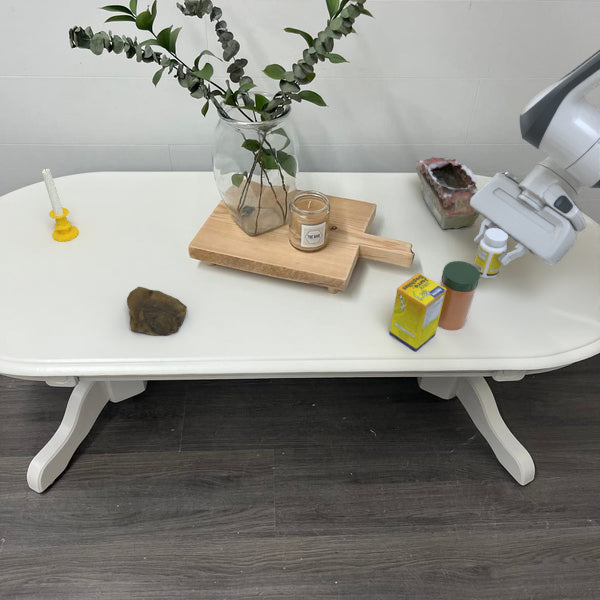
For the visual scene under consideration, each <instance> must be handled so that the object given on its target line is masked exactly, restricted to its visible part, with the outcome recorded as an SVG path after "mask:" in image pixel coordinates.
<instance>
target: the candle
mask: <svg viewBox="0 0 600 600" xmlns="http://www.w3.org/2000/svg"><path fill="white" fill-rule="evenodd" d="M41 173H42V177H43V182H44V185H45V187H46V191H47V193H48V198H49V200H50V205H51V207H52V209H51V211H49V213H48V216H49V217H50V218H51V219H55V225H54V228H55V229H54V230H53V231H52V233H51V237H52V238H53V240H54V241H56V242H60V243H62V242H63V243H65V242H70V241H72V240H74V239H76V238H77V237H78V235H79V234H80V233H79V228H78V227H76V226H75V225H72V222H71V221H70V220H68V218H67V216H68V215H69V214H70V210H69V209H68V208H67V207H62V204H61V200H60V197H59V193H58V190H57V188H56V184H55V180H54V178H53V174H52V172H51V169H50V168H44V169H43V170H42V172H41Z"/></svg>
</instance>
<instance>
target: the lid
mask: <svg viewBox="0 0 600 600" xmlns="http://www.w3.org/2000/svg"><path fill="white" fill-rule="evenodd" d="M441 278H442V280H443V282H444V284H445V285H447V286H448V287H449V288H451V289H454V290H457V291H470V290H473V289H474V288H476V287H478V286H479V281H480V278H481V276H480V273H479V271H478V269H477V268H476V267H475V266H474V264H471V263H469V262H466V261H462V260H461V261H460V260H453V261H450V262H448V263H446V264H445V266H444V267H443V271H442V274H441ZM476 289H477V288H476Z"/></svg>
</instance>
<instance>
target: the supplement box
mask: <svg viewBox="0 0 600 600" xmlns="http://www.w3.org/2000/svg"><path fill="white" fill-rule="evenodd" d="M445 294H446V288H444V287H442V286H441V285H440V283H437V282H436V281H434V280H432V279H430V278H429V277H427V276H425V275H424V274H422V273H420V272H417V273H416V274H415V275H413V276H412V277H410V278H409V279H408V280H406V281H405V282H404V283H402V284H401V285H399V286H398V287H397V288H396V294H395V300H394V306H393V311H392V317H391V321H390V328H389V335H390V336H391V337H392V338H394V339H396V340H397V341H398V342H400V343H401V344H403V345H405V346H406V347H407V348H409V349H410V350H412V351H413V352H417V351H418V350H420V349H421V348H422V347H423V346H424V345H426V344H427V343H429V341H431V339H432V338H434V337H435V336H436V333H437V329H438V321H439V317H440V314H441V310H442V306H443V302H444V298H445Z"/></svg>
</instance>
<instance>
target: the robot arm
mask: <svg viewBox="0 0 600 600" xmlns="http://www.w3.org/2000/svg"><path fill="white" fill-rule="evenodd" d="M599 86H600V49H598V50H597V51H596V52H595V53H593V54H592V55H590V56H589V57H588V58H587V59H585V60H584V61H583V62H581V63H580V64H579V65H577V66H576V67H575V68H574V69H573V70H571V71H570V72H568V73H567V74H566V75H564V76H563V77H562V78H560V79H558V80H557V81H555V82H554V83H552V84H550V85H549V86H547V87H545V88H544V89H542V90H541V91H539V92H538V93H537V94H536V95H534V96H533V97H532V98H531V99H530V100H529V101H528V102H527V104H526V105H525V107H524V108H523V110H522V111H521V114H520V115H519V129H520V134H521V139H522V140H523V141H525V142H527V143H528V144H530V145H531V146H533V147H534V148H536V149H537V150H540V151H541V152H542V153H543V154H545V156H547V157H545V158H544V159H542V160H541V161H539V162H538V163H537V164H536V165H535V167H533V168H532V169H531V171H530V172H529V173H528V174H527V175H526V176H525V177H524V179H522V178H521V177H518V175H515V174H514V173H513V172H511V171H510V170H507V171H500V172H497V173H495V174H494V176H493V177H492V178H491V179H490V180H489V181H488V182H487V183H485V184H484V185H483V186H482V187H481V188H480V189H478V190H479V191H478V192H476V193H475V194H474V195H473V197H472V198H471V201H470V205H471V207H472V208H473V209H474V210H475V211H476V212H477V213H479V216H481V217H483V218H484V219H483V220H482V222H481V224H480V228H479V231H478V234H477V235H476V236H475V237H474V238H473V242H474V243H475V244H476V245H477V246H479V244H480V241H481V240H482V239H483V238H484V235H485V232H486V230H488V229H490V228H499V229H502V230H504V231H505V232H506V233H507V234H508V237H509V238H511V239H512V240H513V241H515V242H516V243H517V244H516V245H515V246H514V248H515V249H513V250H511V251H509V252H506V253H505V252H504V251H503V252H502V253H501V254H500V256H498V257H497V260H498V261H499V262H500V263H502V265H503V266H504V267H506V266H508V264H509V263H510V262H511V261H512V260H515V259H519V258H521V257H523V256H525V255H526V254H527V253H528V252H530V253H531V254H533V255H534V256H535V257H536V258H538V259H539V260H541V261H542V262H543V263H544V264H546V265H547V266H552V265H555V264H558V263H559V262H560V261H561V260H562V259H563V258H564V257H565V256H566V255H567V253H568V252H569V251H570V250H571V248H572V247H573V246H574V244H575V243H576V241H577V238H578V234H577V233H581V232H583V231H584V230H585V229H586V227H587V221H586V219H585V216H584V215H583V214H582V212H581V211H580V209H579V207H578V205H577V204H576V202H575V200H576V199H577V198H578V196H579V195H580V193H581V192H582V190H583V188H584V187H585V186H586V187H588V188H589V189H600V108H597V107H596V106H595V105H594V104H593V103H592V102H590V101H589V100H588V99H587V97H586V95H587V94H589V93H591V92H592V91H593V90H594V89H596V88H597V87H599Z"/></svg>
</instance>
